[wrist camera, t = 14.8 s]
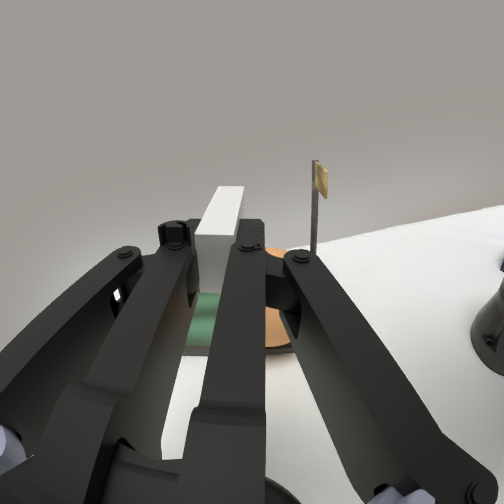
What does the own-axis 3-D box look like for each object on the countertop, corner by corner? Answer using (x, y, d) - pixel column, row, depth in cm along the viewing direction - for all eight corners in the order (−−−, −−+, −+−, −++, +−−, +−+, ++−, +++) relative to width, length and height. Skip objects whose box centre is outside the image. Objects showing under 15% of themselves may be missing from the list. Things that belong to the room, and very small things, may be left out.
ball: (234, 336, 44) (293, 284, 47) (279, 382, 33) (349, 314, 36) (188, 277, 38) (259, 221, 41) (226, 319, 27) (319, 238, 30)
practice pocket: (332, 348, 37) (353, 193, 26) (156, 354, 37) (105, 211, 26) (313, 283, 50) (317, 160, 39) (176, 290, 51) (150, 173, 40)
